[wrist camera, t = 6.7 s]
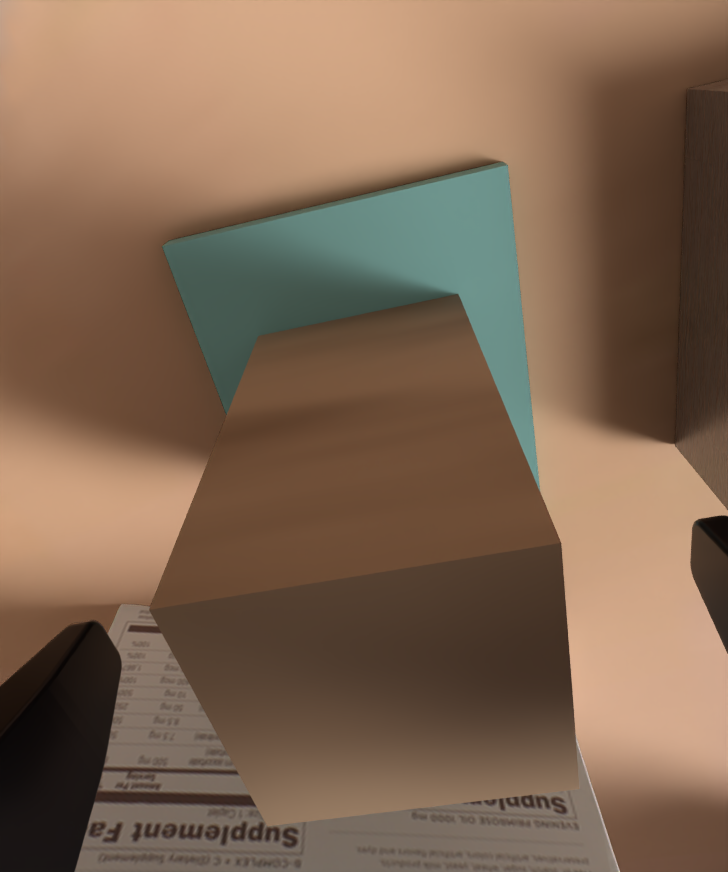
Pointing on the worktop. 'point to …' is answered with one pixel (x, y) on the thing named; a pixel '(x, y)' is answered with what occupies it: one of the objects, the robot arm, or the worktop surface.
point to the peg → (374, 578)
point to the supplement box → (297, 842)
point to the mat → (364, 274)
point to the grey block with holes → (705, 290)
